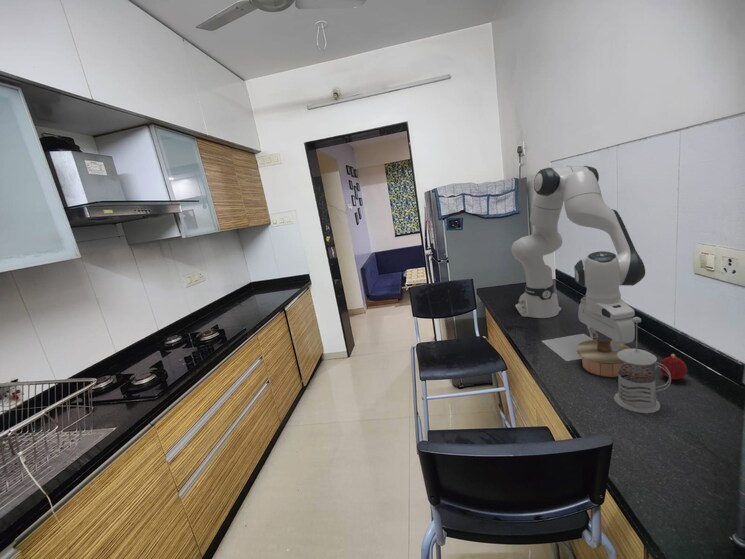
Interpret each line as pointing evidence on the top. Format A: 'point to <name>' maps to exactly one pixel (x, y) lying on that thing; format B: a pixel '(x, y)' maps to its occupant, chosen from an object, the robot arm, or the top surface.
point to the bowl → (601, 368)
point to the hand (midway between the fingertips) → (603, 344)
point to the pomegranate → (674, 367)
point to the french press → (636, 394)
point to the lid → (600, 351)
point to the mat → (567, 346)
